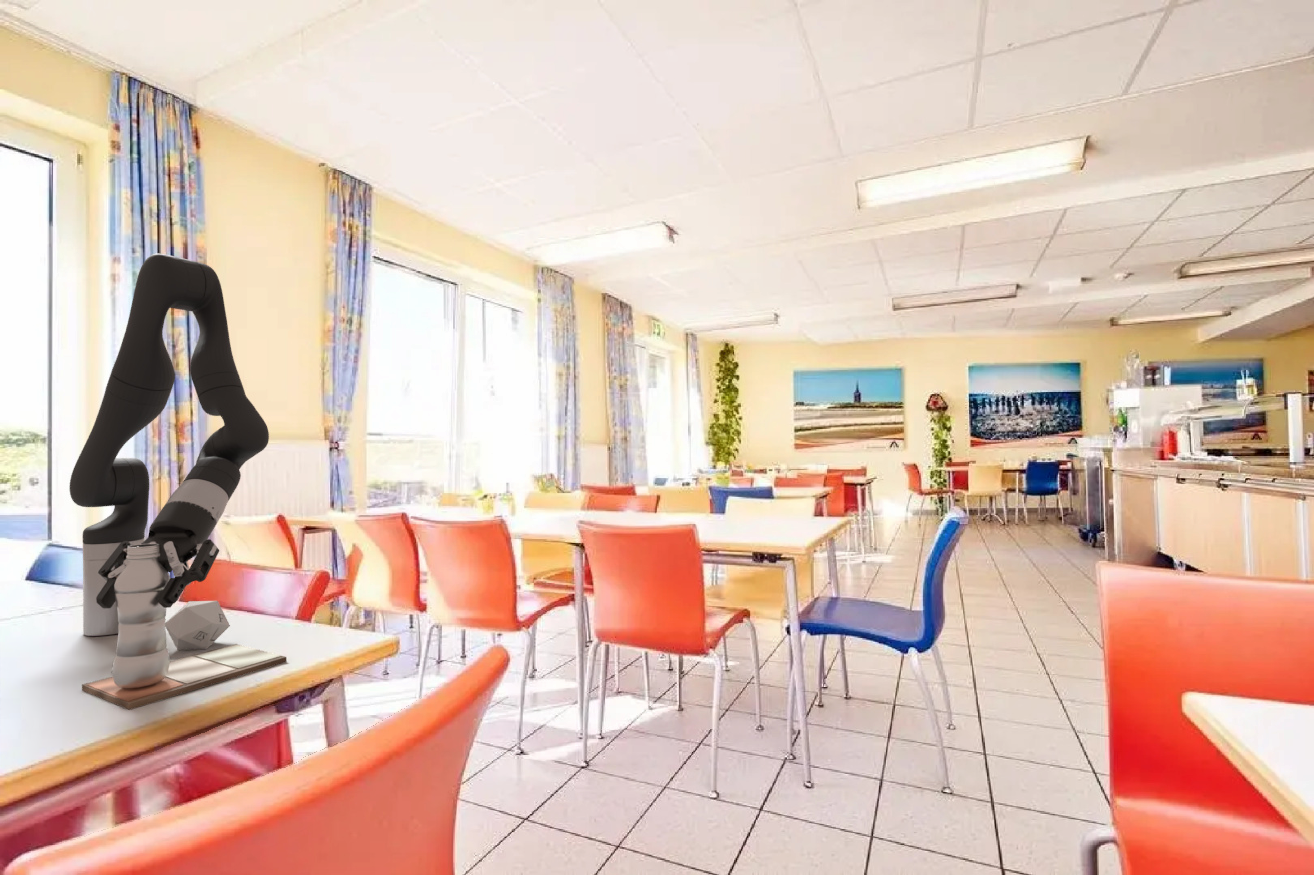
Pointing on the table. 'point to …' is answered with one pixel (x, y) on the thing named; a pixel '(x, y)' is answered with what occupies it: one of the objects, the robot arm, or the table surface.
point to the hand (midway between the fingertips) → (133, 605)
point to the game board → (188, 675)
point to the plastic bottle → (141, 620)
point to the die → (197, 625)
